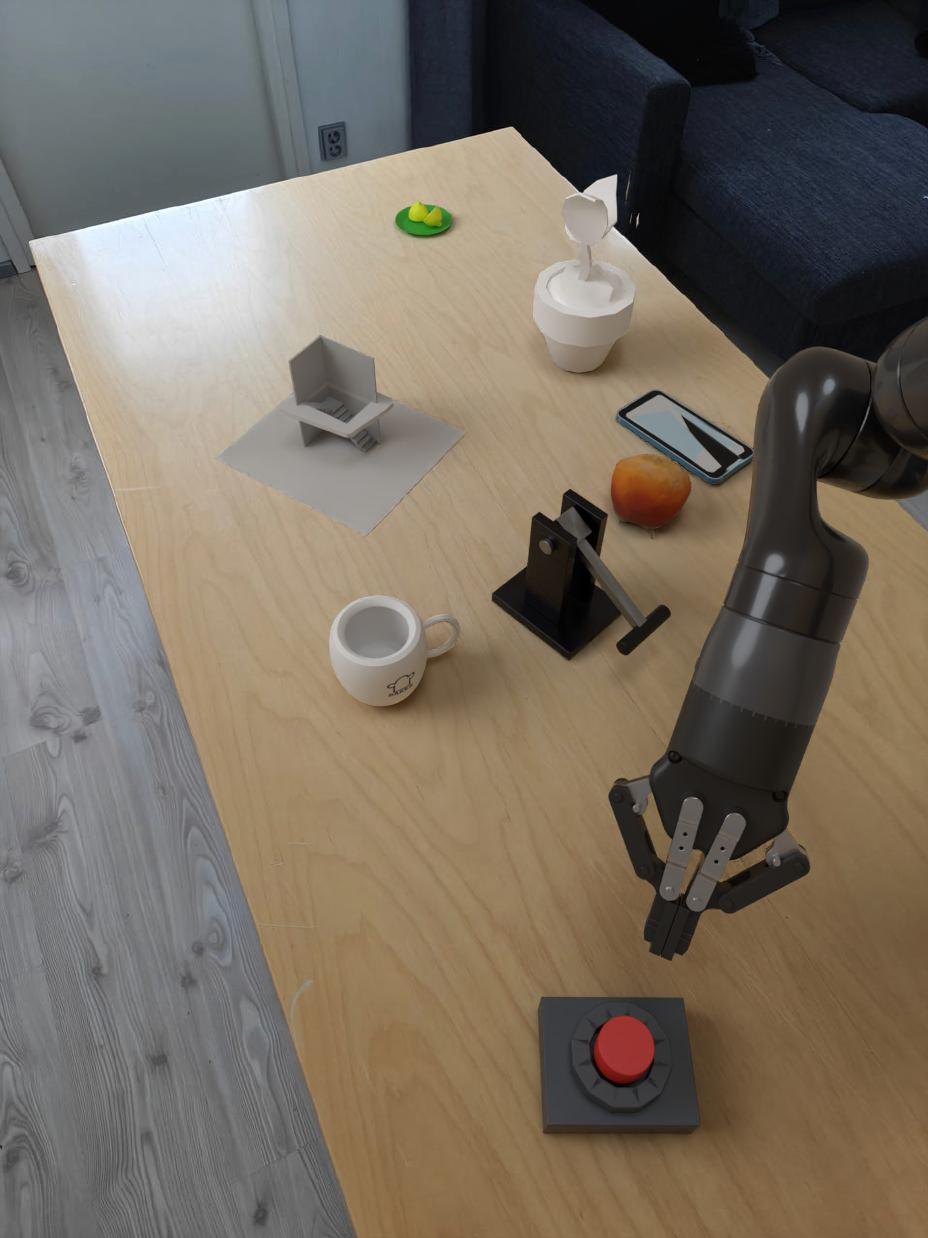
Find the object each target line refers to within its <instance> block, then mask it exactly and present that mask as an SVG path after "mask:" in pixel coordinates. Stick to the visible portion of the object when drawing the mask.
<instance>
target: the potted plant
mask: <svg viewBox="0 0 928 1238" xmlns="http://www.w3.org/2000/svg"><path fill="white" fill-rule="evenodd" d="M629 172H631V170H630V171H629ZM630 177H631V175H629V176H628V180H630ZM617 187H618V174H617V173H616V174H613V175H610V176H607V177H604V178H600V179H597V180H596V181H595V182H593V183H591V185H589V186H588V187H586V188H585V189H584V190H583V192H580V191H579V192H576V193H574V194H571V195H569V196H566V197H565V198H564V201H563V203H562V206H561V207H562V208H561V211H560V212H561V215H562V217H563V221H564V223H565V226H564V229H565V232H566V234H567V235H568V238H569V240H570V241H572V242H576V243H578V258H577V259H570V260H569V259H568V260H563V261H556V262H555V263H553V264H552V265H550V266H548V267H547V268H545V269H543V270H542V271H540V272H539V275H538V277H537V279H536V283H535V286H534V293H533V304H532V318H533V320H534V323H535V324H536V326H537V328H538V330H539V332H540V333H542V334H543V337H544V340H545V343H546V348H547V350H548V354H549V357H550V359H551V361H552V363H553V364H554V365H555V366H557V367H558V368H560V369H562V370H563V371H567V372H573V373H579V374H580V373H586V372H592V371H595V370H596V369H597V368H598V367H600V366H602V365H603V363H604V361H605V360H606V358H607V357H608V354H609V353H610V351H611V350H612V347H613V346H614V345H615V342H616V341H617V340H618V339H619V338H621V337H623V336H624V335H625V334H627V333H628V331H629V328H630V325H631V324H630V323H631V319H632V316H633V310H634V304H635V297H636V295H637V294H636V292H637V286H636V285H635V284H636V283H634V281H633V280H632V278H631V277H630V275H629V273H628V272H626V271H624V270H623V269H620V268H618V267H616V266H614V265H613V264H611V263H609V262H608V261H607V262H606V261H599V260H593V259H592V250H591V247H593V248H595V247H596V246H597V245H598V244H599V243H600V242H601V241H602V240H603V239H604V238H605V237H606V236H607V235H608V233H609V232H610V231H611V230H612V228H613V227H614V226H615V225H616V224H617V222H618V202H617V189H618V188H617ZM629 187H630V181H628V183H627V188H626V191H625V199H628V192H629ZM625 205H626V202H625ZM639 216H640V214H638V215H637V217H636V228H635V229H637V227H638V225H639ZM632 217H633V216H632V214H631V215H630V218H632ZM631 221H632V219H630V220H629V223H632V222H631Z"/></svg>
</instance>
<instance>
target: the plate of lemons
mask: <svg viewBox="0 0 928 1238" xmlns="http://www.w3.org/2000/svg"><path fill="white" fill-rule="evenodd" d="M394 220H395V224H396V226H397V227H398V228H399V229H400V230H402V231H404V232H405V233H409V234H412V235H418V236H427V235H435V234H438V233H441V232H443V231H445V230H447V229H448V228H449V227H450V226H451V224H452V222H453V217H452V215H451V214H450V211H448V210H446V209H445V208H443V207H441V206H439V205H433V204H426V203H425V204H424V203H422V202H421V200H417V201H416V202H415V203H413V204H412V205H410V206H407V207H405V208H403V209H400V211H399V212H398V213H397V214H396V215H395V218H394Z"/></svg>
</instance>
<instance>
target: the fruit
mask: <svg viewBox="0 0 928 1238" xmlns="http://www.w3.org/2000/svg"><path fill="white" fill-rule="evenodd" d="M612 472H613V473H612V476H611V481H610V498H611V502H612V507H613V511H614V514H615V516H616V517H617V521H618V522H617V523H618V524H621V523H632V524H635V525H638V526H640V527H642V528H644V529H645V530H646V531H647V532H648V533H650V536H651V537H650V538H651V539H652V540H654V530H656V529H657V528H661V527H663V526H664V525H665V524H666V523H667V522H669V521H670V520H672V519H673V518H674V517H675V516H676V515H677V514H678V513H679V512H680V511H681V510H682V509H683V507H684V505H685V503H686V502H687V500H688V499H689V496H690V495H691V492H692V481H691V477H690V474H689V473H688V471H686V470H685V469H683V468H682V467H681V466H680V465H679V464H677V463H676V462H674V461H672V460H670V459H669V458H667V457H666V456H662V455H657V454H648V453H641V454H636V455H633V456H628V457H624V458H622V459H620V460H618V461H617V462H616V464H615V467H614V469H613V471H612Z"/></svg>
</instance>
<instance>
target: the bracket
mask: <svg viewBox="0 0 928 1238" xmlns="http://www.w3.org/2000/svg"><path fill="white" fill-rule="evenodd" d="M571 507H574V508H575V510H576V511H577V512H578V514H579V515H580V516H581V518H582V519H583V520H584V521H585V523H586V524H587V525H588V527H589V528H590V529H591V531H592V532H591V533H590V534H589V535H588V536H586V537H585V539H586V540H587V542H588V543H589V544H590V546H591V547H592V548H593V550H594V551H595V552H596V553H597V555H598V556H599V557H600V558H601V554H602V549H603V544H604V539H605V538H604V537H605V533H606V527H607V523H608V516H609V513H607V512H606V511H604V510H603V509H601V508H600V507H598V506H597V505H595V504H594V503H593V502H591V501H589V500H588V499H586V497H583V496H582V495H581V494H579V493H578V492H576V491H574V490H573V489H572V488H569V489H567V490H566V491H565V492H563V494H562V499H561V506H560V513H559V516H560V515H562V514H563V513H564V512H566V511H567V510H568V509H570V508H571ZM577 540H578V538H576V537H575V536H574V535H572V534H571V533H569V532H568V531H566V530H565V529H564V528H562V527H561V526H559V525H558V524H557V523H555V522H554V520H553V519H551V518H549V517H548V516H546V515H545V514H543V513H542V511H538V512H537V513H535V514H534V515H533V516H532V517H531V523H530V534H529V544H528V555H527V564H526V566H525V567H523V568H522V569H521V570H520V571H519V572H516V574H514V576H512V577H511V578H509V579H508V580H507V581H506V582H504V583H503V584H502V585H501V586H499V587H498V588H497V589H495V590H494V591H493V592H491V602H492V603H494V604H495V605H496V606H497V607H499V608H501V609H502V610H503V611H504V612H505V613H506V614H508V615H509V616H511V618H513V619H514V620H515V621H517V622H518V623H519V624H520V625H522V626H523V627H525V628H526V629H527V630H529V631H530V632H531V633H532V634H534V635H535V636H536V637H537V638H539V639H540V640H541V641H542V642H544V643H545V644H546V645H548V646H549V648H552V649H553V650H554V651H556V652H557V654H559V655H561V656H562V657H563V658H564V659H566V660H567V661H570V660H572V659H573V658H574V657H575V656H576V655H578V653H579V652H581V651H582V650H583V649H584V648H585V647H586V646H588V644H590V643H591V642H592V641H594V639H596V638H597V637H598V636H599V635H600V634H601V633H602V632H603V631H605V630H606V629H607V628H608V627H609V626H611V625H612V624H613V623H614V622H616V620H617V619H618V618H619V617H620V616H622V614H621V612H620V611H619V610H618V608H617V607H616V606H615V604H614V603H613V602H612V600H611V599H610V598H609V596H608V595H607V594H606V592H605V591H604V590H603V589H602V587H601V586H600V587H599V586H598V585H597V584H596V582H597V581H596V579H595V578H594V577H593V575H592V574H591V573H590V571H589V570H588V569H587V567H586V566H585V565H584V564H583V562H582V561H581V560H580V558H579V557H578V556H577V554H576V547H577Z"/></svg>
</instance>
